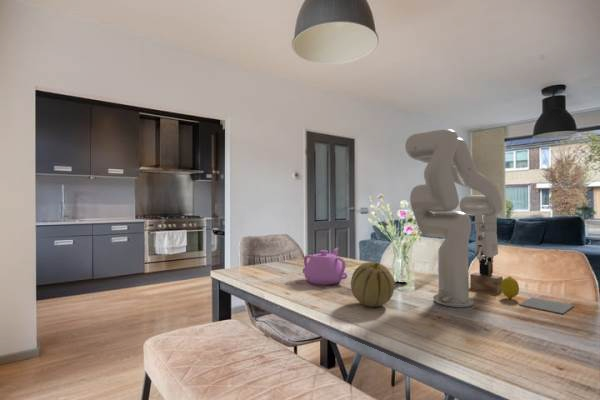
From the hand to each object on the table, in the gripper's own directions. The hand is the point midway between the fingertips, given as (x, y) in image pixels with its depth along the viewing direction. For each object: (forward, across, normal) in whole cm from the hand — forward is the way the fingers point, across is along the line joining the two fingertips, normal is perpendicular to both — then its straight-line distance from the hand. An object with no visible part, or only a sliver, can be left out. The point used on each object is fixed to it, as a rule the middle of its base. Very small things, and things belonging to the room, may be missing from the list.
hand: (486, 273), depth 137 cm
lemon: (+7, -7, -11) cm, 15 cm away
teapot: (+7, -37, +52) cm, 64 cm away
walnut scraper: (+6, 0, 0) cm, 6 cm away
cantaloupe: (+7, -50, +16) cm, 53 cm away
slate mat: (+6, -7, -22) cm, 24 cm away
